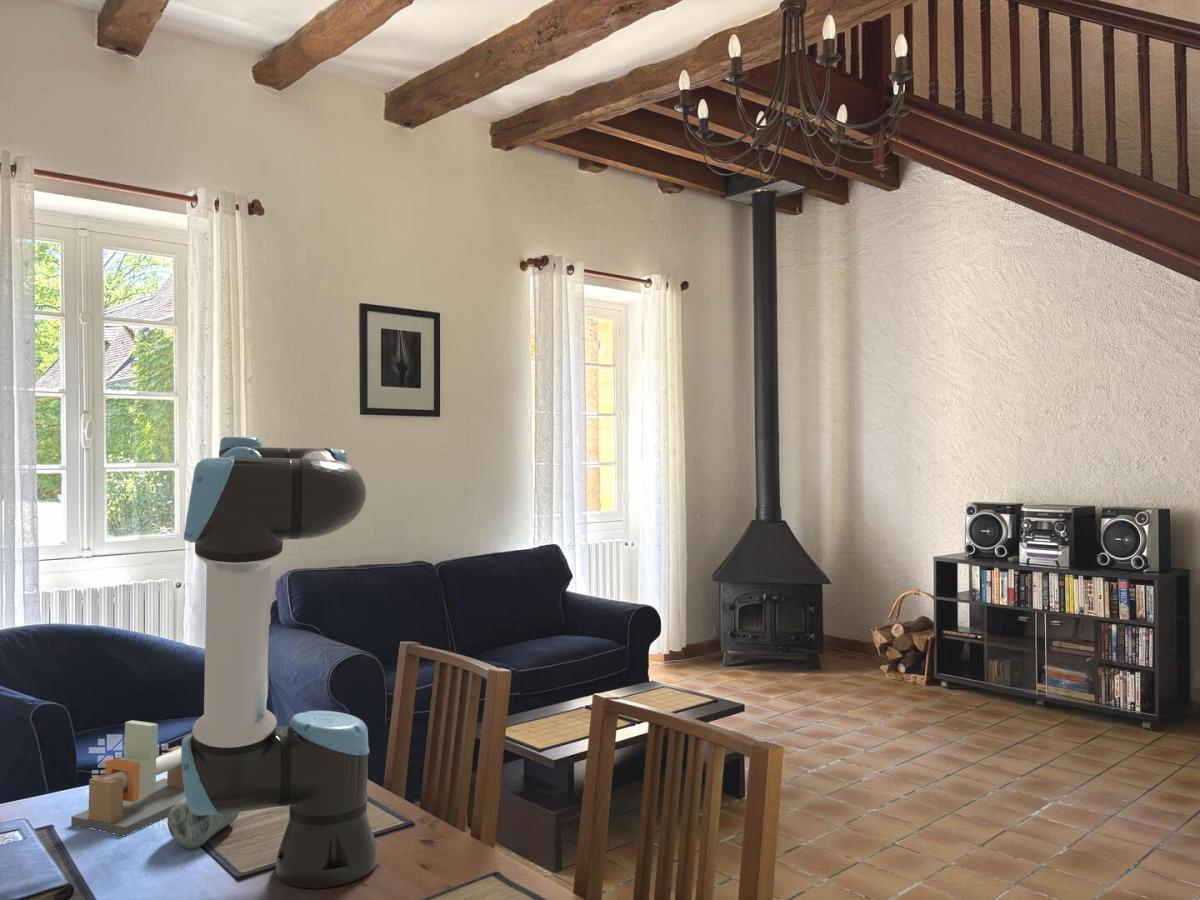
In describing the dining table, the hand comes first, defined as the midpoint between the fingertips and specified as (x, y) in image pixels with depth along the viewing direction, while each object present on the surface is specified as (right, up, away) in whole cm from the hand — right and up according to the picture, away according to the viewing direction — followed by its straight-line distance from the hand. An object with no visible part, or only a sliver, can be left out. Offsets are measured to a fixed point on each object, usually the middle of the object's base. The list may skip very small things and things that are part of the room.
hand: (236, 641), depth 171 cm
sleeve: (-13, -24, -12) cm, 30 cm away
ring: (-14, -24, -15) cm, 32 cm away
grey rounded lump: (+3, -29, -21) cm, 35 cm away
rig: (-12, -28, -10) cm, 32 cm away
